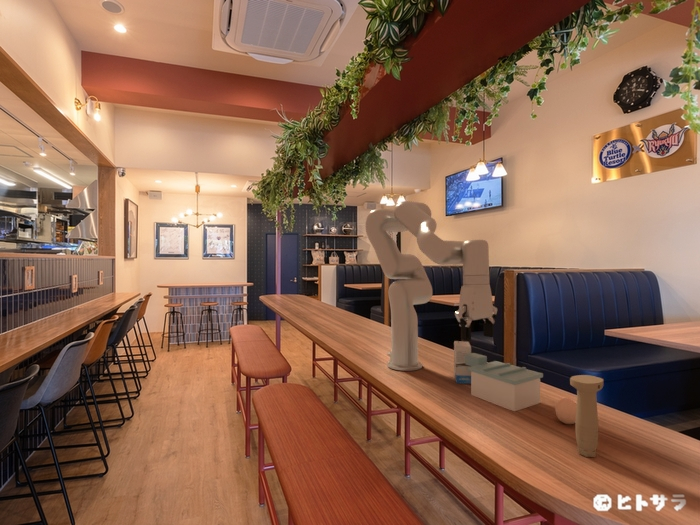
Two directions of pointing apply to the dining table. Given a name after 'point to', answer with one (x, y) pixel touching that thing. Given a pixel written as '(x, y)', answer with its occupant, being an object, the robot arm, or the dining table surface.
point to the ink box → (461, 362)
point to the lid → (500, 370)
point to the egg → (566, 411)
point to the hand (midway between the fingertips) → (477, 338)
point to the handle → (586, 413)
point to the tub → (505, 392)
